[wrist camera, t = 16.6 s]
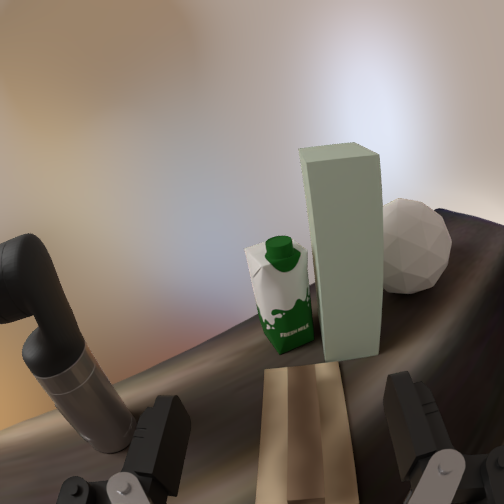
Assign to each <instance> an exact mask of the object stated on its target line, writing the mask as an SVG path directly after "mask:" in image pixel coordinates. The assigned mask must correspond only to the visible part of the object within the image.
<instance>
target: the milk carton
mask: <svg viewBox="0 0 504 504" xmlns="http://www.w3.org/2000/svg"><path fill="white" fill-rule="evenodd" d="M244 250H245V254H246V258H247V262H248V266H249V272H250V275H251V281H252V286H253V291H254V296H255V300H256V305H257V310H258V314H259V318H260V322H261V325H262V328H263V331H264V333H265V335H266V336H267V338H268V339H269V341H270V342H271V343H272V345H273V346H274V348H275V349H276V350H277V352H278V353H279V355H280V354H283V353H285V352H287V351H290V350H292V349H294V348H297V347H299V346H301V345H303V344H306V343H308V342H310V341H312V340H314V329H313V318H312V308H311V298H310V289H309V279H308V272H307V271H308V270H307V263H308V251H307V250H306V249H305V248H304V247H302V246H301V245H299V244H298V243H296V242H295V241H294V240H293V239H291V237H288V236H276V237H272V238H270V239H268V240H267V241H266V242H263V243H261V244H257V245H254V246H251V247H248V248H245V249H244Z"/></svg>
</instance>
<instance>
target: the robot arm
mask: <svg viewBox="0 0 504 504" xmlns="http://www.w3.org/2000/svg"><path fill="white" fill-rule="evenodd" d="M32 315H34V317H35V319H36V321H37V323H38V327H37V328H36V329H35V330H34V331H33V332H32V333H31V334H30V335H29V337H28V338H27V340H26V342H25V343H24V345H23V349H22V356H23V360H24V362H25V363H26V365H27V366H28V368H29V369H30V371H31V372H32V373H33V375H34V376H35V378H36V379H37V380H38V382H39V383H40V385H41V386H42V387H43V389H44V390H45V391H46V392H47V394H48V395H49V396H50V398H51V399H52V400H53V401H54V403H55V406H56V408H57V409H58V410H59V412H60V413H61V414H62V415H63V416H64V417H65V419H66V420H67V421H68V422H69V423H70V424H71V426H72V427H73V428H74V429H75V430H76V431H77V432H78V433H79V434H80V436H81V437H82V438H83V439H84V440H85V441H88V442H89V443H90V444H91V445H92V446H93V447H94V448H95V449H96V450H98V451H100V452H103V453H114V452H117V451H120V450H122V449H124V448H125V447H127V446H128V445H129V444H130V443H131V444H130V447H129V450H128V453H127V456H126V459H125V463H124V466H123V468H122V470H121V472H120V473H117V474H115V475H113V476H112V477H111V478H110V479H109V480H107V481H99V482H87V481H85V480H84V479H83V478H81V477H78V476H73V477H70V478H68V479H66V480H65V481H64V483H63V484H62V486H61V489H60V493H59V496H58V499H57V502H56V504H167V503H166V501H167V496H175V497H177V494H178V489H179V484H180V479H181V474H182V469H183V464H184V459H185V455H186V450H187V445H188V440H189V435H190V431H191V420H190V417H189V415H188V413H187V411H186V409H185V408H184V406H183V404H182V402H181V400H180V399H179V397H178V396H177V395H158V396H157V398H156V400H155V403H154V406H153V408H152V407H147V409H146V410H145V411H144V412H143V413H142V415H141V416H140V417H139V420H138V423H137V422H136V420H135V418H134V416H133V415H132V414H131V412H130V411H129V409H128V408H127V407H126V405H125V404H124V402H123V401H122V399H121V398H120V396H119V395H118V393H117V392H116V390H115V389H114V387H113V386H112V384H111V383H110V381H109V380H108V378H107V376H106V375H105V373H104V372H103V370H102V369H101V367H100V365H99V364H98V362H97V360H96V359H95V357H94V355H93V354H92V352H91V350H90V348H89V347H88V345H87V343H86V342H85V340H84V338H83V336H82V334H81V332H80V330H79V328H78V325H77V322H76V319H75V317H74V314H73V312H72V309H71V307H70V305H69V303H68V301H67V298H66V296H65V294H64V291H63V289H62V286H61V284H60V281H59V278H58V276H57V273H56V270H55V267H54V265H53V262H52V260H51V257H50V255H49V253H48V251H47V249H46V247H45V246H44V244H43V243H42V242H41V240H40V239H39V238H38V237H37V236H35V235H33V234H29V233H28V234H24V235H21V236H18V237H15V238H13V239H11V240H8V241H6V242H4V243H1V244H0V324H6V323H10V322H14V321H17V320H20V319H23V318H26V317H30V316H32ZM383 405H384V412H385V416H386V420H387V423H388V427H389V431H390V435H391V439H392V443H393V447H394V451H395V455H396V459H397V463H398V468H399V472H400V477H401V481H402V482H403V481H407V480H410V483H411V489H410V491H409V493H408V495H407V497H406V498H405V500H404V502H403V504H451V503H457V502H461V504H504V445H503V446H498V447H496V448H495V449H493V450H492V451H491V452H490V453H489V454H480V455H465V454H462V453H460V452H458V451H457V450H456V449H455V448H454V447H453V446H452V444H451V441H450V439H449V436H448V433H447V430H446V428H445V425H444V422H443V420H442V417H441V415H440V412H439V409H438V407H437V404H436V403H435V400H434V397H433V395H432V392H431V390H430V389H429V388H428V387H427V386H426V385H425V384H424V383H423V382H422V381H420V382H416V383H413V381H412V379H411V376H410V374H409V372H408V371H403V372H399V373H395V374H390V375H388V377H387V382H386V388H385V393H384V398H383Z"/></svg>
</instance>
